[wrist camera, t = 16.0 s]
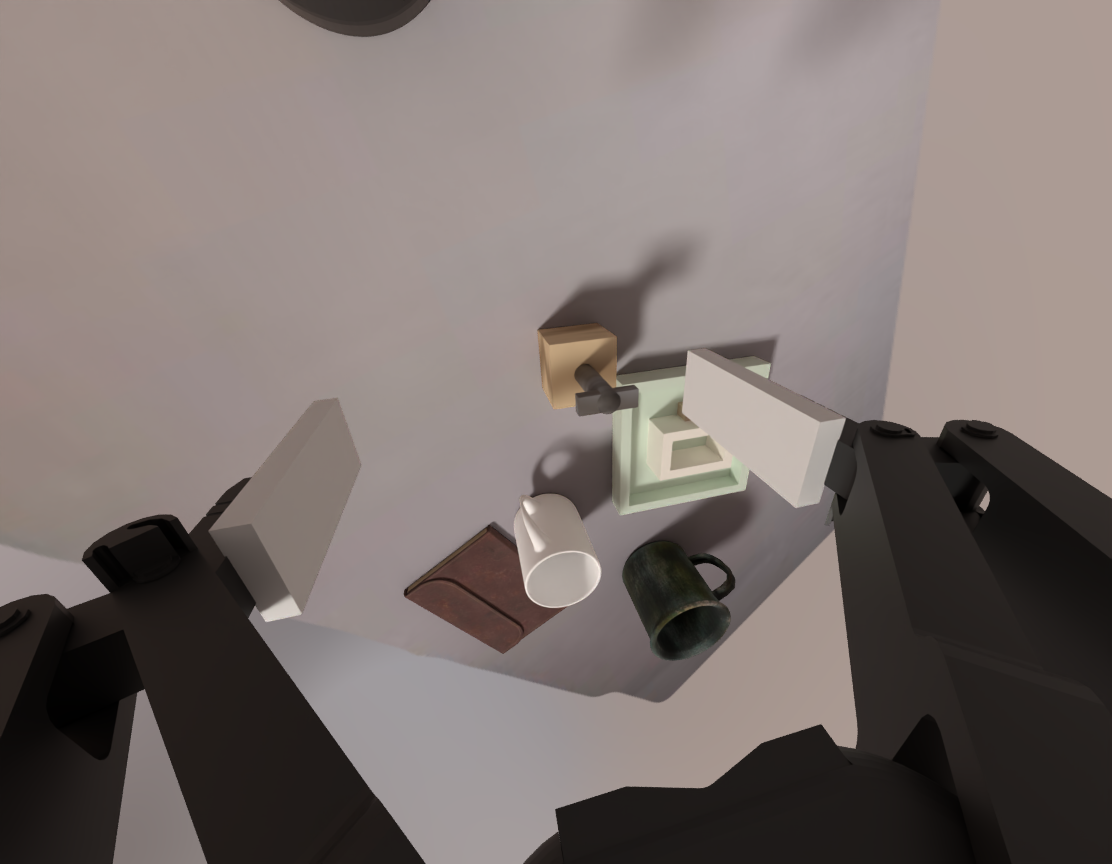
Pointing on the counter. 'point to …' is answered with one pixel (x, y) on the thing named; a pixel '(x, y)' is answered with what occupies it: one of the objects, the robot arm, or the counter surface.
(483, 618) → the notebook
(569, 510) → the mug
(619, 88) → the counter surface
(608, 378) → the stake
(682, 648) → the mug
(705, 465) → the ring
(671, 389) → the tray
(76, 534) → the counter surface
